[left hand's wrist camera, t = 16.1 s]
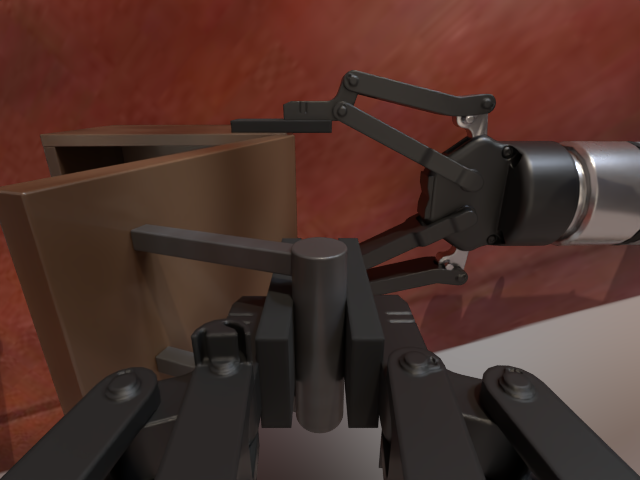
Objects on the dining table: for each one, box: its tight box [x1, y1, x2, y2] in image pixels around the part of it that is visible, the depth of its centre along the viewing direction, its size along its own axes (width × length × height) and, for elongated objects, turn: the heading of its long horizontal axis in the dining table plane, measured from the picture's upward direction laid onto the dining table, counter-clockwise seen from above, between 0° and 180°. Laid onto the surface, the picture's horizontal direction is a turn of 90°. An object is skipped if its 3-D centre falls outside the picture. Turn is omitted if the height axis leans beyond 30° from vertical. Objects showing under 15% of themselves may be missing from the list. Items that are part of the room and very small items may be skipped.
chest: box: [40, 125, 293, 177], centre depth 29 cm, size 15×9×9 cm, turn 90°
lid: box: [0, 134, 348, 433], centre depth 16 cm, size 16×9×8 cm
